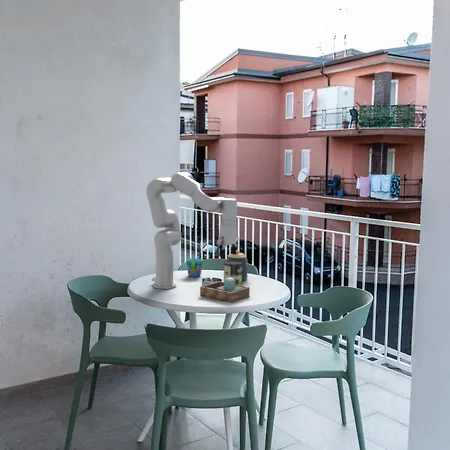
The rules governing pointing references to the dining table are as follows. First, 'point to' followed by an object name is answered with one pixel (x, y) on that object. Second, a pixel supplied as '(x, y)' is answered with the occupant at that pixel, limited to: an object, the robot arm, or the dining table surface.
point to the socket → (228, 289)
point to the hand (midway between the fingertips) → (227, 255)
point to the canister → (240, 258)
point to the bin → (223, 292)
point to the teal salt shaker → (229, 283)
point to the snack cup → (194, 267)
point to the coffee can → (233, 271)
